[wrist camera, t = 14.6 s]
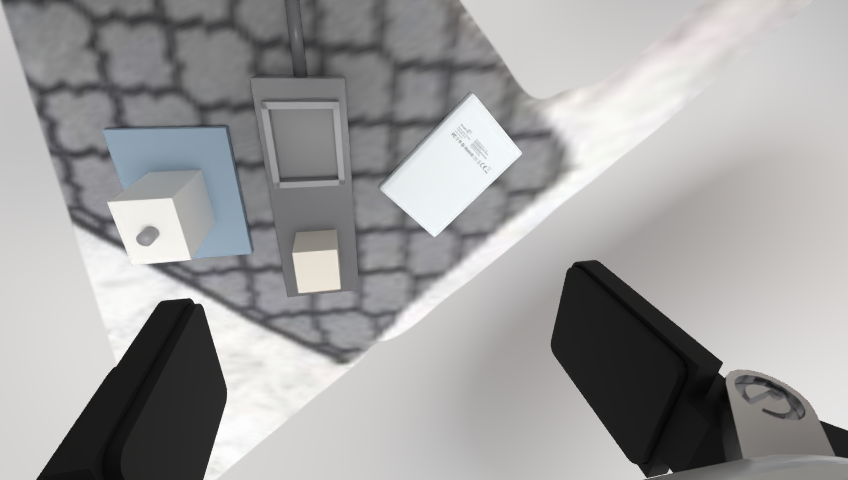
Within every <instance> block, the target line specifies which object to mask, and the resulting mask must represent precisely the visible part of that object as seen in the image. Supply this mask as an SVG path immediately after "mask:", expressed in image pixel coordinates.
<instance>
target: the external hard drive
mask: <svg viewBox="0 0 848 480" xmlns="http://www.w3.org/2000/svg"><path fill="white" fill-rule="evenodd" d="M521 154H522V152H521V151H520V150H519V148H518V147H517V146H516V145H515V144H514V142H513V141H512V140H511V139H510V138H509V136H508V135H507V134H506V133H505V131H504V130H503V129H502V128H501V127H500V125H499V124H498V123H497V122H496V120H495V119H494V118H493V117H492V115H491V114H490V113H489V112H488V110H487V109H486V108H485V107H484V106H483V104H482V103H481V102H480V101H479V99H478V98H477V97H476V96H475V95H474V94H473V93H471V92H470V93H469V94H468V95H467V96H466V97H465V98H464V99H463V100H462V101H461V102H460V103H459V104H458V105H457V106H456V107H455V108H454V109H453V110H452V111H451V112H450V113H449V114H448V115H447V116H446V117H445V118H444V120H443V121H442V122H441V123H440V124H439V125H438V126H437V127H436V128H435V129H434V130H433V131H432V132H431V133H430V134H429V135H428V136H427V137H426V138H425V139H424V140H423V141H422V142H421V143H420V144H419V145H418V146H417V147H416V148H415V149H414V150H413V151H412V152H411V153H410V154H409V155H408V156H407V158H406V159H405V160H404V161H403V162H402V163H401V164H400V165H399V166H398V167H397V168H396V169H395V170H394V171H393V172H392V173H391V174H390V175H389V176H388V177H387V178H386V179H385V180H384V181H383V182H382V183H381V184H380V185H379V188H380V190H381V191H382V192H384V193H385V194H386V195H387V196H388V197H389V198H390V199H391V200H393V201H394V202H395V203H396V204H397V205H398V206H399V207H401V208H402V209H403V210H404V211H405V212H406V213H407V214H408V215H410V216H411V217H412V218H413V219H414V220H415V221H416V222H417V223H419V224H420V225H421V226H422V227H423V228H424V229H425V230H426V231H428V232H429V233H430V234H431V235H432V236H434V237H436V236H437V235H438V234H439V233H440V232H441V231H442V230H443V229H444V228H445V227H446V226H447V225H448V224H449V223H450V222H451V221H452V220H454V219H455V218H456V217H457V216H458V215H459V214H460V213H461V212H462V211H463V210H464V209H465V208H466V207H467V206H468V205H469V204H470V203H471V202H472V201H473V200H474V199H475V198H476V197H477V196H479V195H480V194H481V193H482V192H483V191H484V190H485V189H486V188H487V187H488V186H489V185H490V184H491V183H492V182H493V181H494V180H495V179H496V178H497V177H498V176H499V175H500V174H501V173H502V172H503V171H504V170H506V169H507V168H508V167H509V166H510V165H511V164H512V163H513V162H514V161H515V160H516V159H517V158H518V157H519V156H520V155H521Z"/></svg>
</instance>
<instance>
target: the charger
mask: <svg viewBox="0 0 848 480" xmlns="http://www.w3.org/2000/svg"><path fill="white" fill-rule="evenodd" d="M107 203H108V205H109V208H110V210H111V213H112V215H113V218H114V220H115V223H116V225H117V228H118V230H119V233H120V235H121V238H122V241H123V243H124V246H125V248H126V251H127V253H128V256H129V258H130V261H131V263H132V265H139V264H150V263H161V262H172V261H183V260H191V259H192V258H193V256H194V255H195V253H196V252H197V250H198V249H199V247H200V245H201V244H202V242H203V241H204V239H205V238H206V236H207V235H208V233H209V232H210V230H211V229H212V227H213V225H214V224H215V218H214V215H213V211H212V207H211V203H210V200H209V196H208V192H207V188H206V184H205V181H204V177H203V173H202V170H181V171H161V172H149V173H148V174H146V175H145V176H143V177H142V178H141V179H139V180H138V181H136V182H135V183H134V184H132V185H131V186H129V187H128V188H126V189H125V190H124V191H122V192H121V193H119V194H118V195H117V196H115V197H114V198H112V199H111V200H109V201H108V202H107Z"/></svg>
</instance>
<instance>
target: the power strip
mask: <svg viewBox="0 0 848 480" xmlns="http://www.w3.org/2000/svg"><path fill="white" fill-rule="evenodd" d="M285 4H286V12H287V20H288V28H289V36H290V44H291V52H292V61H293V69H294V76H277V75H256V76H254V77H252V78H250V82H251V87H252V93H253V99H254V105H255V111H256V117H257V122H258V128H259V134H260V140H261V146H262V151H263V157H264V163H265V169H266V175H267V180H268V186H269V192H270V198H271V204H272V210H273V215H274V221H275V227H276V233H277V239H278V244H279V250H280V256H281V262H282V268H283V274H284V279H285V285H286V291H287V297H294V296H304V295H314V294H324V293H334V292H343V291H353V290H359V281H358V267H357V252H356V237H355V223H354V208H353V193H352V178H351V164H350V149H349V134H348V119H347V105H346V90H345V78H344V76H307V71H306V62H305V53H304V44H303V35H302V26H301V16H300V7H299V0H285Z"/></svg>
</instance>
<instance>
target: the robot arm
mask: <svg viewBox="0 0 848 480" xmlns="http://www.w3.org/2000/svg"><path fill="white" fill-rule="evenodd" d="M551 349H552V352H553V354H554V356H555V357H556V359H557V360H558V361H559V363H560V364H561V365H562V367H563V368H564V370H565V371H566V373H567V374H568V375H569V377H570V378H571V380H572V381H573V382H574V384H575V385H576V387H577V388H578V389H579V391H580V392H581V394H582V395H583V396H584V398H585V399H586V400H587V402H588V403H589V405H590V406H591V407H592V409H593V410H594V412H595V413H596V415H597V416H598V417H599V419H600V420H601V422H602V423H603V424H604V426H605V427H606V429H607V430H608V431H609V433H610V434H611V436H612V437H613V438H614V440H615V441H616V443H617V444H618V445H619V447H620V448H621V450H622V451H623V452H624V454H625V455H626V457H627V458H628V459H629V460H630V461H631V462H632V463H634V464H637V465H638V466H639V468H640V469H641V470H642V472H643V473H644V474H645V476H646V477H647V478H649V477H654V476H658V475H662V474H666V473H667V472H668V470H669V468H670V469H671V471H672V472H673V473H672V474H668V475H663V476H658V477H654V478H649V479H645V480H848V431H847V430H845V429H842V428H839V427H836V426H833V425H831V424H828V423H825V422H823V421H820V420H819V419H818V417H817V415H816V413H815V411H814V409H813V408H812V406H811V405H810V403H809V402H808V401H807V400H806V399H805V398H804V397H803V396H802V395H801V394H800V393H798V392H797V391H796V390H794V389H793V388H791V387H790V386H788V385H787V384H785V383H783V382H781V381H779V380H777V379H775V378H773V377H770V376H768V375H765V374H763V373H759V372H755V371H750V370H735V371H731V372H730V373H729V374H728V375H727V376H726V377H725V378H724V377H723V376H722V375H720V374H719V373H718V372H719V369H720V368H721V366H722V364H723V362H722V361H720V360H719V359H718V358H717V357H715V356H714V355H713V354H712V353H711V352H709V351H708V350H707V349H706V348H704V347H703V346H702V345H701V344H700V343H698V342H697V341H696V340H695V339H693V338H692V337H691V336H689V335H688V334H687V333H686V332H685V331H684V330H682V329H681V328H680V327H679V326H677V325H676V324H675V323H674V322H673V321H671V320H670V319H669V318H668V317H666V316H665V315H664V314H663V313H661V312H660V311H659V310H658V309H656V308H655V307H654V306H653V305H652V304H650V303H649V302H648V301H647V300H645V299H644V298H643V297H642V296H641V295H639V294H638V293H637V292H636V291H634V290H633V289H632V288H631V287H630V286H628V285H627V284H626V283H624V282H623V281H622V280H621V279H620V278H618V277H617V276H616V275H615V274H614V273H612V272H611V271H610V270H609V269H607V268H606V267H605V266H604V265H603V264H601V263H600V262H599V261H597V260H591V261H581V262H575V263H574V264H573V265H572V267H571V268H569V269H568V270H567V273H566V278H565V282H564V286H563V291H562V295H561V299H560V304H559V308H558V313H557V317H556V322H555V326H554V330H553V335H552V339H551ZM226 400H227V388H226V384H225V380H224V377H223V373H222V370H221V367H220V363H219V360H218V356H217V353H216V349H215V346H214V343H213V339H212V336H211V332H210V329H209V326H208V322H207V319H206V315H205V312H204V309H203V306H202V305H201V304H194V302H193V300H192V299H190V298H187V299H176V300H166V301H161V302H160V303H159V304H158V305H157V307H156V308H155V310H154V311H153V313H152V314H151V316H150V317H149V318H148V320H147V321H146V323H145V324H144V326H143V327H142V329H141V330H140V332H139V333H138V335H137V336H136V338H135V339H134V341H133V342H132V344H131V345H130V347H129V348H128V350H127V351H126V353H125V354H124V356H123V357H122V359H121V360H120V362H119V363H118V365H117V366H116V367H114V368H113V369H112V370H111V371H110V373H109V374H108V375H107V376H106V378H105V379H104V381H103V382H102V384H101V385H100V387H99V388H98V390H97V391H96V393H95V394H94V395H93V397H92V398H91V400H90V401H89V403H88V404H87V406H86V407H85V409H84V410H83V412H82V413H81V415H80V416H79V418H78V419H77V420H76V422H75V424H74V425H73V426H72V428H71V429H70V431H69V432H68V434H67V435H66V437H65V438H64V440H63V441H62V443H61V444H60V445H59V447H58V449H57V450H56V451H55V453H54V454H53V456H52V457H51V459H50V460H49V462H48V463H47V465H46V466H45V468H44V469H43V471H42V472H41V473H40V475H39V476H38V478H37V479H36V480H203V478H204V475H205V472H206V468H207V465H208V462H209V458H210V455H211V451H212V448H213V445H214V441H215V438H216V435H217V431H218V428H219V424H220V421H221V418H222V414H223V411H224V408H225V404H226Z"/></svg>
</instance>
